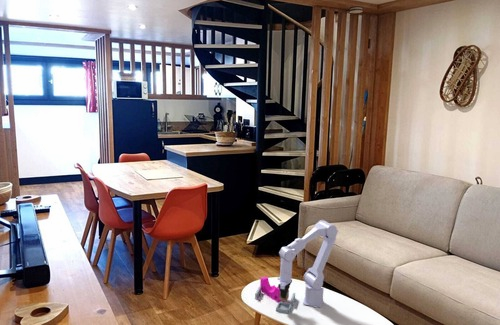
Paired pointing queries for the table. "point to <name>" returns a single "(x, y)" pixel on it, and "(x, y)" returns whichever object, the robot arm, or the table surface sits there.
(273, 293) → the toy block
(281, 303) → the jig
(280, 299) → the walnut cube
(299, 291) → the table surface
